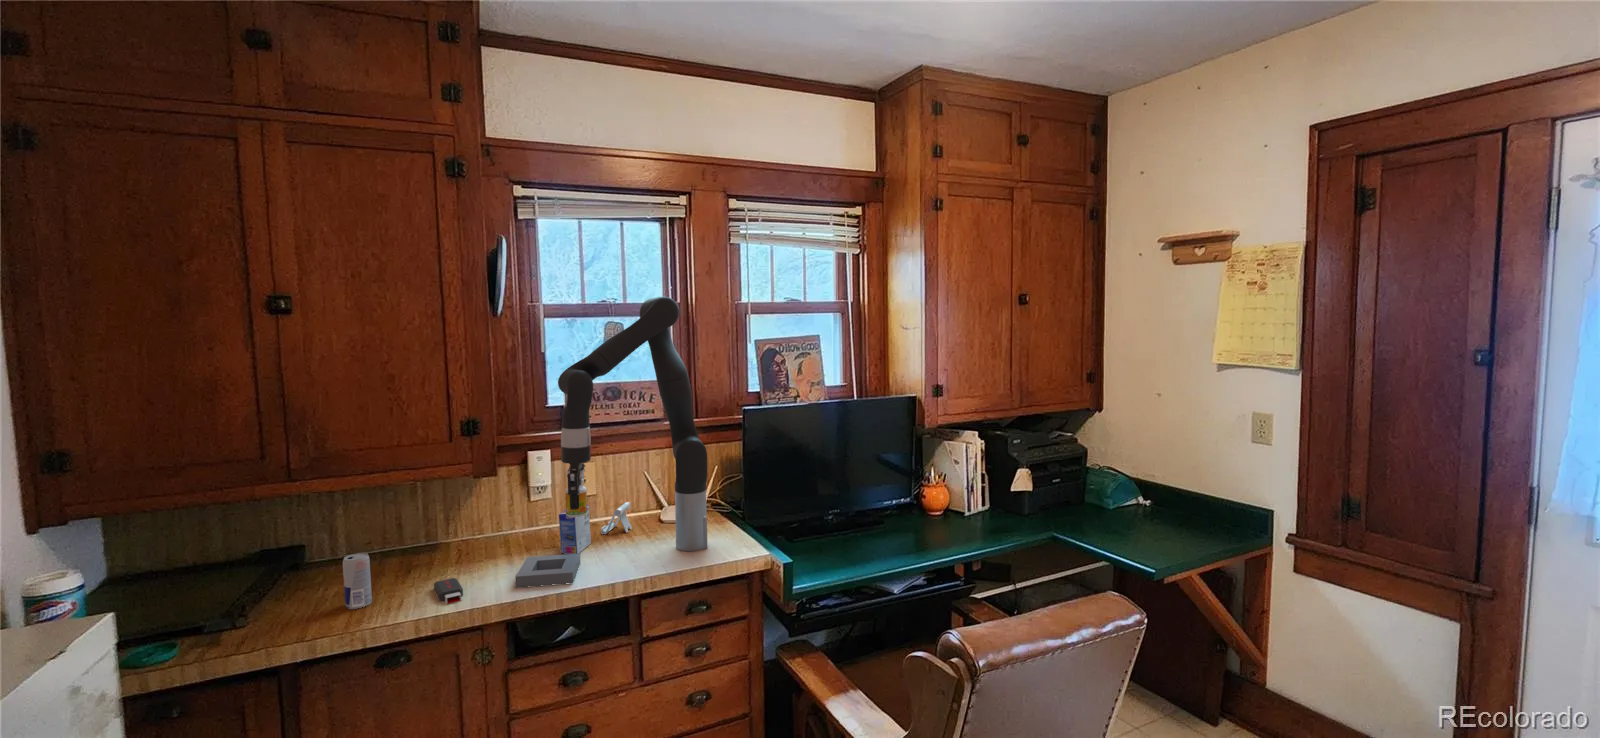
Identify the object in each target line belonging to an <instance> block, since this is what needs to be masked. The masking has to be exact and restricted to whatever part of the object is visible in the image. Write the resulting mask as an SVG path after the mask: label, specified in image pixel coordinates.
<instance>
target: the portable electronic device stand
mask: <svg viewBox="0 0 1600 738" xmlns="http://www.w3.org/2000/svg"><path fill="white" fill-rule="evenodd" d="M630 508H631V503H630V502H629V501H625V502H623V504H622V505H620V506H619V507H618V508H616V509H615V510H614V512H613V513H612V517H611V518H610V519H611V520H610V521H608V522H607V525H604V526H602V527H601V528H600V533H601V535H603V534H605V535H607V534H608V533H609V532H610V531H612V529H614V528H616V526H617V524H618V522H619V520H620V522H621V525H622V527H623V529H624V531H625V534H628V533H629V530H630V529H631V530H632V529H633V527H632V524H631V523H630V520H629V519H628V516H627V513H626V511H627V510H628V509H630ZM615 517H617V518H616V520H615ZM614 520H615V521H614ZM627 532H628V533H627Z"/></svg>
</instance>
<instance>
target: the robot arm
mask: <svg viewBox="0 0 1600 738" xmlns="http://www.w3.org/2000/svg"><path fill="white" fill-rule="evenodd" d="M639 308H640V309H639V319H637V320H636V321H635V322H633V323H632V324H630V325H629V326H628V327H626V328H625V329H623V330H622V331H620V332H618V333H616V334H614V335H613V336H611V337H610V338H608V339H607V340H605V341H604V342H603V343H601V344H600V345H599V346H598V347H597V348H595V349H594V350H593V351H592V352H590V353H589V354H588V355H587V356H586V357H584V358H581V359H580V360H579V361H577V362H575V363H574V364H572V365H570V366H569V367H567V368H566V369H565V370H563V372H562V373H561V374H560V375H559V377H558V380H557V385H558V388H559V390H560V391H561V392H562V393H563V394H565V395H567V398H566V405H565V406H564V407H563V408H562V409H561V410H562V411H561V433H560V448H561V449H560V456H561V457H560V458H561V459H560V460H561V463H562V464H569V468H568V469H567V471H566V472H567V473H566V475H567V476H566V478H567V488H568V495H569V496H570V509H578V508H579V494H580V492H579V491H580V487H581V486H582V478H583V479H584V480H585V469H586V468H585V464H586V463H588V462H589V461H591V456H592V455H591V453H592V452H591V451H592V450H591V449H592V448H591V446H592V445H591V441H592V440H591V430H590V429H591V428H590V409H591V404H592V400H593V394H594V380H595V379H597V378H600V377H603V376H606V375H607V374H608V373H610V372H611V371H613V369H615V368H616V367H617V366H618V365H619V364H621V363H622V362H623V361H624V360H625V359H626V358H627V357H628V356H630V355H632V353H633V352H635V351H636V350H637V349H638V348H640V347H641V346H643V344H645V343H646V342H647V344H648V346H649V350H650V354H651V360H652V364H653V368H654V373H655V378H656V383H657V387H658V391H659V395H660V399H661V402H662V406H663V409H664V411H665V414H666V417H667V421H668V424H669V427H670V430H669V431H670V437H671V444H672V455H673V457H674V459H675V482H674V504H675V505H674V506H675V507H674V509H675V511H674V512H675V548H676V549H677V550H678V551H682V552H696V551H700V550H704V549H708V516H707V515H708V514H707V481H708V450H707V447H706V445H705V444H704V443H703V442H702V441H701V438H700V436H699V434H698V431H697V428H696V424H695V420H694V414H693V393H692V386H691V381H690V377H689V373H688V370H687V367H686V365H685V363H684V361H683V359H682V358H681V356H680V354H679V352H678V351H677V350H676V347H675V345H674V343H673V340H672V334H671V330H670V328H671V327H672V326H674V325H675V324H676V323H677V322H678V319H679V318H680V307H679V305H678V303H677V302H676V301H675V300H674V299H673V298H670V297H669V296H657V297H652V298H648V299H647V300H645V301H643V302H642V304H641V306H640V307H639ZM578 482H579V483H578ZM584 484H585V483H584ZM584 484H583V486H584ZM572 487H576V490H572Z"/></svg>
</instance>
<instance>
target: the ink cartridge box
mask: <svg viewBox="0 0 1600 738" xmlns="http://www.w3.org/2000/svg"><path fill="white" fill-rule="evenodd" d="M589 506H590V505H589V504H587V513H586V515H584V516H581V517H568V516H566V509H565V510H563V511H562V512H560V513H559V514H558V523H559V535H560V536H559V538H560V552H561V554H562V553H564V554H563V555H566V554H578V553H579V554H581V552H582V551H584V550H585V549H586V548H587V547H588V546H590V545H591V543H592V542H591V541H592V539H591V524H590V523H591V522H590V521H591V520H590V507H589Z"/></svg>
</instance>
